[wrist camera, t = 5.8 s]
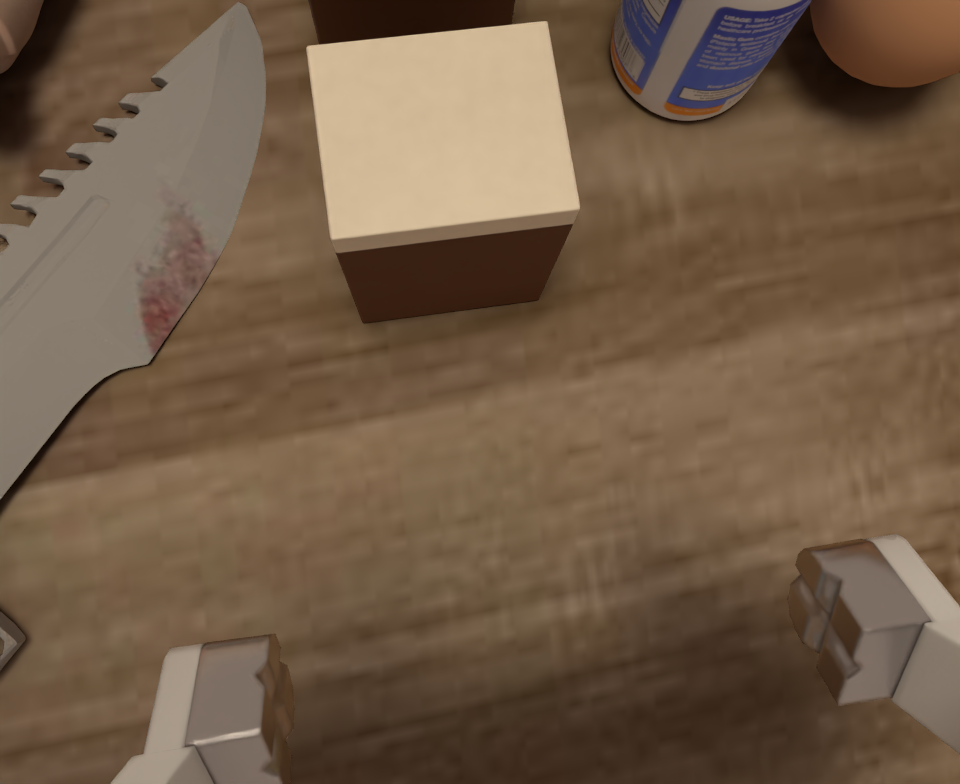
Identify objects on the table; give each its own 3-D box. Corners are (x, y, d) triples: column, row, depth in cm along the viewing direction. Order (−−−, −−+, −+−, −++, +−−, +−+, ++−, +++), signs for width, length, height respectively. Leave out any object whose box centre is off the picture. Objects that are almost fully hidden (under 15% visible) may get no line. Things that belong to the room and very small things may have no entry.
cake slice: (362, 323, 26) (330, 239, 18) (344, 183, 27) (305, 44, 19) (538, 300, 27) (581, 209, 19) (516, 163, 27) (547, 19, 19)
